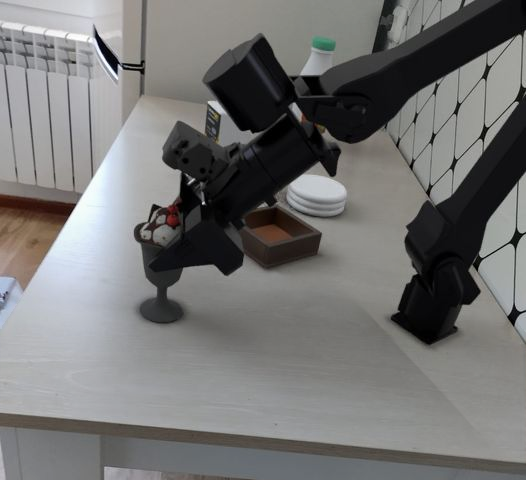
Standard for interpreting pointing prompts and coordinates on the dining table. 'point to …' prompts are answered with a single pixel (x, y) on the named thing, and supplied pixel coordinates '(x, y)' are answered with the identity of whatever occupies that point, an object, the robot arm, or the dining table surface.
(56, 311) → the dining table surface
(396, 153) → the dining table surface
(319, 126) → the milk bottle
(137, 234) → the sundae
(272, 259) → the brown wooden square box
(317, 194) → the coaster
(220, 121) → the medicine bottle
